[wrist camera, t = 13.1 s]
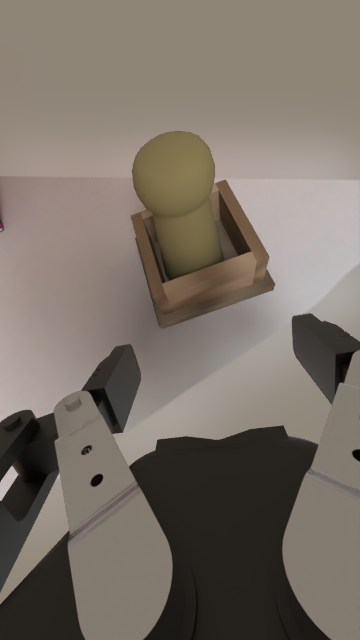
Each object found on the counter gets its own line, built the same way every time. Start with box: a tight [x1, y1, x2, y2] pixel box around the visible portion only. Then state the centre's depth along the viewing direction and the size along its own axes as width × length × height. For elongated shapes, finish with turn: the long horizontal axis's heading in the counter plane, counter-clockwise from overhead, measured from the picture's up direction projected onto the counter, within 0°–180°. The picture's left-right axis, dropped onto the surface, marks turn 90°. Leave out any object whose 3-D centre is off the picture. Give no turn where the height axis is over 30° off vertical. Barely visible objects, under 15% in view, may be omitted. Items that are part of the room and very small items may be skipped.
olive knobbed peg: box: [132, 131, 224, 281], centre depth 18 cm, size 6×6×11 cm
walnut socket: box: [131, 180, 275, 328], centre depth 22 cm, size 11×11×4 cm
